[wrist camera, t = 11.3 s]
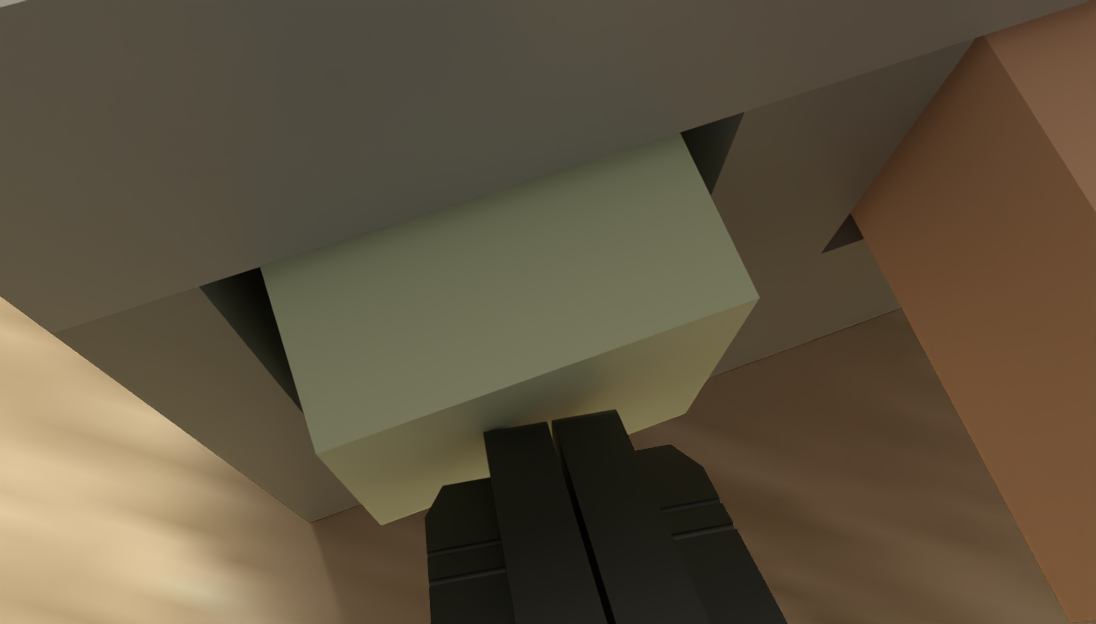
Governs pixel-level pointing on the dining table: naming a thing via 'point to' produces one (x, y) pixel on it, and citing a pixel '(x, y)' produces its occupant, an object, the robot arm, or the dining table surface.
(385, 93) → the keypad console
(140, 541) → the dining table surface
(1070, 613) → the terracotta key
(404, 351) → the sage key
